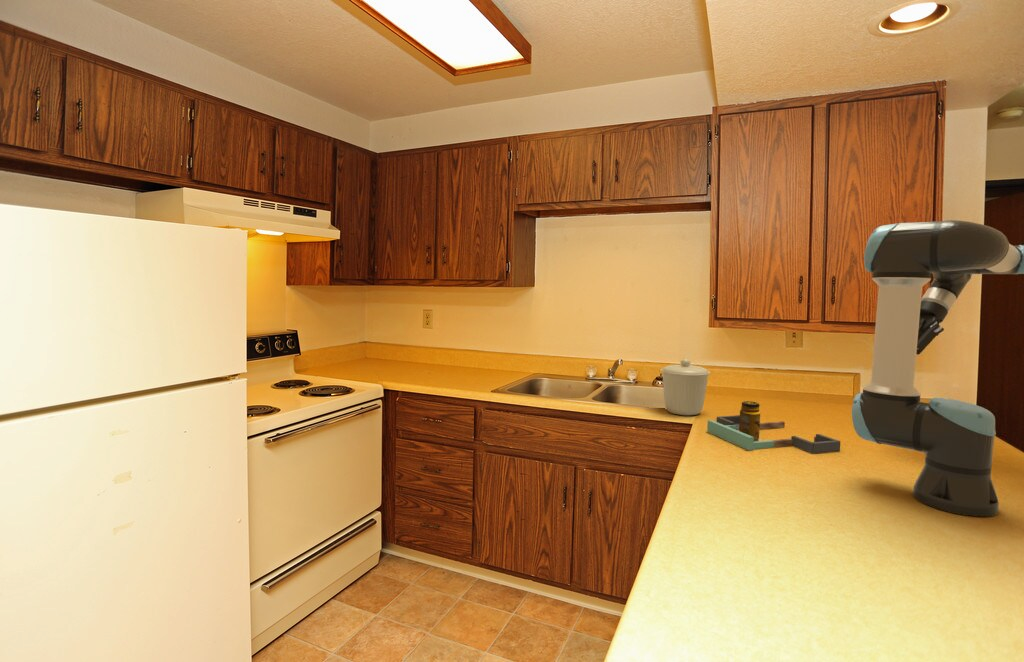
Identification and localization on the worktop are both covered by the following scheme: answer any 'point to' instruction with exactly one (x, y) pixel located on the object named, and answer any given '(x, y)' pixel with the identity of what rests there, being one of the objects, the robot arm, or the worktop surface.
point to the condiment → (750, 419)
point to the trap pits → (794, 438)
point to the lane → (781, 441)
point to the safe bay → (736, 436)
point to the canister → (684, 388)
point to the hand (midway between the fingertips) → (892, 371)
